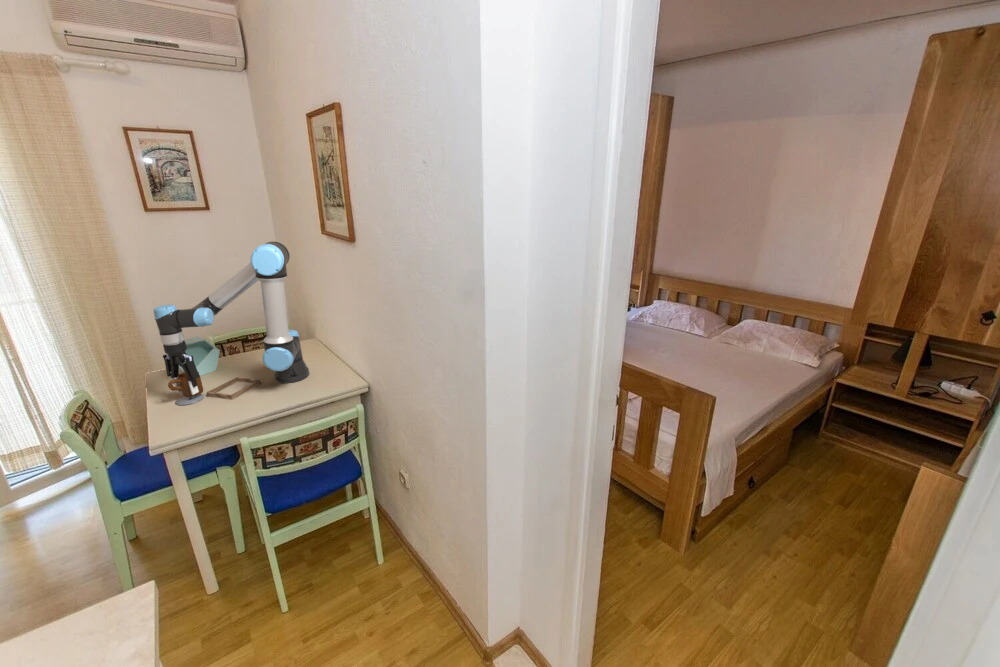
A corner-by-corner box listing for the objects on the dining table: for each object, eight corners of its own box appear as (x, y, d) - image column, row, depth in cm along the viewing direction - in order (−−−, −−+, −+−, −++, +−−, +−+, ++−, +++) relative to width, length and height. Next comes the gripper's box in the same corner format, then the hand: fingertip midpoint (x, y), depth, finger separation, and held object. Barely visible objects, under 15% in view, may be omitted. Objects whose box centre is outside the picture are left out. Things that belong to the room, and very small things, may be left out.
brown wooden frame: (261, 383, 203) (260, 379, 202) (232, 399, 188) (231, 395, 187) (238, 380, 206) (237, 377, 206) (207, 396, 191) (206, 392, 190)
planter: (203, 384, 214) (168, 359, 199) (195, 380, 218) (159, 356, 203) (228, 357, 222) (196, 331, 207) (219, 354, 226) (187, 329, 211)
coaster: (209, 396, 191) (208, 394, 191) (188, 406, 182) (188, 405, 182) (191, 393, 194) (191, 392, 194) (170, 404, 185) (169, 402, 184)
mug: (177, 403, 181) (171, 383, 178) (168, 399, 184) (162, 379, 181) (207, 392, 191) (202, 372, 188) (198, 388, 194) (193, 369, 191)
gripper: (201, 341, 180) (214, 390, 187) (163, 337, 185) (177, 386, 193) (184, 347, 173) (198, 398, 181) (146, 343, 178) (161, 393, 186)
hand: (187, 392), depth 187 cm, fingers closed on mug, 7 cm apart
